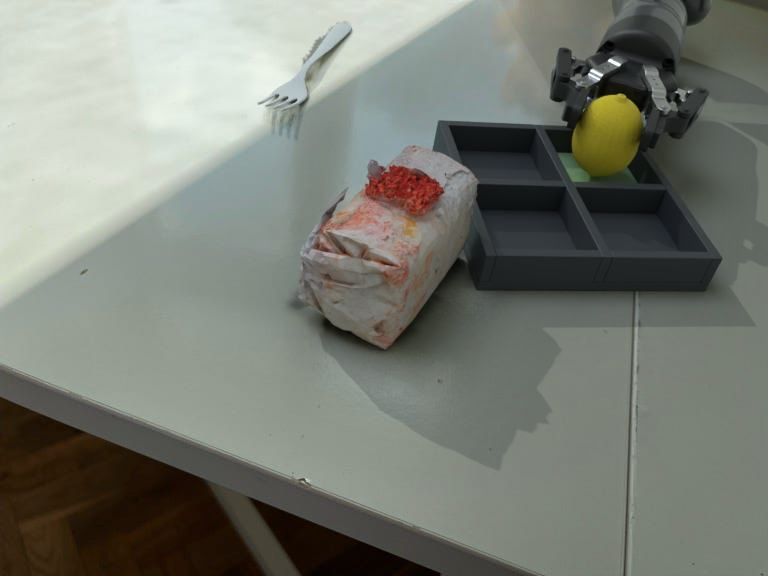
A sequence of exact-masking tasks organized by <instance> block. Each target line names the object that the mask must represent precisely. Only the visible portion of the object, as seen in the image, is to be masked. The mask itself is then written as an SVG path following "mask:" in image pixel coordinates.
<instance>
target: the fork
mask: <svg viewBox="0 0 768 576" xmlns="http://www.w3.org/2000/svg"><path fill="white" fill-rule="evenodd" d="M351 30H352V25H351V24H350V23H347V22H339V23H336V24H335V25H333V26H332V27H331V29H330V30H329V31H328V34H327V35H326V36H325V38H324V39H323V40H322V42H321V43H320V44H319V45H318V47H317V48H316V50H315V51H314V52H313V54H312V55H311V56H310V57H309V58H308V59H307V60H306V61H305V62H304V63H303V65H302V66H301V67H300V69H299V70H298V72H297V73H296V74H295V75H294V77H292V78H291V79H290V80H288V81H287V82H285V83H283V84H282V85H280V86H278V87H277V88H276V89H274V90H273V91H272V92H271V93H270V94H269V95H268V96H267V97H265V98H263V99H262V100H260V101H258V102H257V106H260V105H262V104H263V105H264V108H268V107H271V106H273V105H274V106H273V107H272V110H277V109H280V110H279V112H285V111H288V110H290V109H292V108H295V107H296V106H299V105H300V104H302V103H303V102H305V101H306V100H307V98H308V96H309V92H308V88H307V85H306V75H307V73H308V70H309V69H310V67H312V65H313V64H314V63H316V62H317V61H318V60H319V59H321V58H322V57H323V56H324V55H326V54H327V53H329V52H330V51H331V50H332V49H334V48H335V46H337V44H339V43H340V42H341V41H342V40H344V39H345V37H347V35H348V34H350V33H351ZM276 96H278V97H277V98H276V99H273V98H275V97H276ZM272 99H273V100H272ZM284 99H286V100H284ZM270 100H272V101H270ZM283 100H284V101H283ZM269 101H270V102H269ZM281 101H283V102H281ZM294 101H295V102H294ZM279 102H281V103H279ZM292 102H294V103H292ZM277 103H279V104H277ZM290 103H291V104H290ZM275 104H277V105H275ZM288 104H289V105H288ZM286 105H287V106H286ZM284 106H285V107H284ZM282 107H283V108H282Z"/></svg>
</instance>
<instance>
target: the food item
mask: <svg viewBox="0 0 768 576" xmlns="http://www.w3.org/2000/svg"><path fill="white" fill-rule="evenodd" d="M366 167H367V174H366V175H365V177H366V178H367V180H368V183H367V182H366V183H365V184H364V186H363V188H361V190H360V191H359V192H357V193H356V194H355V195H354V196H353V197H352V199H351V200H350V201H349V202H348V203H347V204H346V205H345V206H343V207H342V208H341V209H340V210H339V211H337V212H336V213H335V211H336V210H337V207H338V205H339V204H340V203H341V202H343V201H344V200H345V197H346V194H347V191H348V190H349V188H350V186H348V187H346V188H344V190H342V191H341V193H340V194H338V195H337V196H336V197H335V198H334V199H333V200H332V201H331V202H330V203H329V204H328V205H327V206H326V207H325V208H324V210H323V213H322V216H321V217H320V219H319V221H318V223H316V225H315V226H314V228H313V229H312V230H311V232H310V233H309V235H308V237H307V239H306V242H305V244H304V243H302V246H301V248H300V252H299V256H300V260H301V265H300V268H299V271H298V282H299V286H298V291H297V297H298V300H299V302H300V303H302V304H303V305H304V307H307V306H310V307H312V308H313V309H314V310H315V312H318V313H319V314H320V315H322V316H324V317H325V318H326V319H327V320H328V321H329V322H330V323H331V324H332V325H333V326H335V327H337V328H338V329H341V330H343V331H349V332H351V333H352V334H353V335H355V336H357V337H359V339H361V340H363V341H365V342H368V343H369V344H371V345H374V346H376V347H378V348H380V349H383V350H387V349H388V348H389V347H391V346H392V345H393V344H394V342H395V341H396V340H397V338H398V337H399V336H401V335H402V333H403V332H404V331H405V330H406V329H407V327H409V325H410V324H411V323H412V322H413V321H414V319H415V318H416V317H417V315H418V314H419V312H420V311H421V310H422V309H423V307H424V306H425V304H426V303H427V302H428V301H429V299H430V297H431V296H432V294H433V293H434V292H435V290H436V289H437V288H438V286H439V285H440V283H441V282H442V281H443V279H444V278H445V277H446V275H447V273H448V272H449V270H450V269H451V268H452V267H453V266H454V264H455V262H456V261H457V259H459V256H460V255H461V253H462V251H464V249H463V248H464V246H465V244H466V241H467V238H468V234H469V227H470V221H471V216H472V215H473V208H474V205H475V199H476V196H477V184H478V183H479V181H478V179H476V178H475V175H474V174H473V173H472V172H471V171H470V170H469V169H468V168H467V167H465V166H463V165H461V164H460V163H458V162H456V161H455V160H453V159H452V158H450V157H448V156H447V155H445V154H443V153H440V152H435V151H432V149H429V148H425V147H422V146H419V145H416V144H414V145H413V144H411V145H408V146H405V147H404V148H403V150H402V151H401V152H400V153H399V154H398V155H397V156H396V157H395V158H393V159H392V160H391V161H390V162H389V163H388V164H387V165H386V166H385V167H384V166H383V165H379V163H378V161H377V160H374V159H372V158H371V159H370V160H369V162H368V165H367V166H366ZM334 213H335V214H334Z"/></svg>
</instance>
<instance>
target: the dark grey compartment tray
mask: <svg viewBox="0 0 768 576" xmlns="http://www.w3.org/2000/svg"><path fill="white" fill-rule="evenodd" d="M566 126H567V125H557V124H556V125H552V124H532V123H514V122H513V123H511V122H510V123H509V122H508V123H507V122H492V121H491V122H487V121H469V120H468V121H464V120H446V119H445V120H444V119H442V120H441V119H438V120H437V125H436V130H435V135H434V141H433V145H432V149H431V151H435V152H440V153H443V154H445V155H447V156H448V157H450V158H452V159H453V160H455V161H456V162H458V163H460V164H461V165H463V166H465V167H467V168H468V169H469V170H470V171H471V172H472V173H473V174H474V175H475V178H476V179H478V181H479V183H478V184H477V196H476V199H475V205H474V208H473V215H472V216H471V221H470V227H469V234H468V238H467V241H466V244H465V246H464V248H463V252H464V255H465V258H466V261H467V264H468V266H469V270H470V274H471V277H472V280H473V283H474V286H475V289H476V290H477V291H622V292H623V291H628V292H629V291H631V292H633V291H635V292H637V291H639V292H640V291H643V292H645V291H646V292H647V291H654V292H655V291H658V292H661V291H662V292H663V291H665V292H666V291H667V292H674V291H675V292H683V291H684V292H706V291H707V289H708V287H709V285H710V283H711V281H712V279H713V278H714V276H715V274H716V273H717V270H718V269H719V267H720V264H721V263H722V261H723V256H722V255H721V254H720V252H719V251H718V249H717V248H716V247H715V245H714V243H713V242H712V240H711V239H710V238H709V236H708V235H707V233H706V232H705V231H704V229H703V228H702V226H701V225H700V224H699V222H698V220H697V219H696V217H695V215H693V213H692V211H690V209H689V208H688V206H687V205H686V203H685V201H684V200H683V199H682V197H681V196H680V195H679V193H678V191H676V189H675V187H674V186H673V184H672V183H671V181H670V180H669V178H668V177H667V176H666V174H665V173H664V171H663V170H662V168H661V167H660V166H659V164H658V163H657V161H656V159H654V157H653V156H652V154H651V153H650V151H649V150H648V149H647V151H646V153H645V152H642V151H638V150H637V153H636V155H635V156H634V158H633V160H632V161H631V162H630V164H629V165H628V166H627V167H626V168H624V169H623V170H622V171H620V172H618V173H616V174H614V175H611V176H599V177H596V178H592V177H590V176H589V174H588V173H587V172H586V171H584V170H583V169H582V168H581V167H580V166H579V165H578V164H577V162H576V160H575V158H574V156H573V151H572V137H573V133H574V130H572V129H569V128H566Z"/></svg>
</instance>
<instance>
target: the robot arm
mask: <svg viewBox="0 0 768 576" xmlns="http://www.w3.org/2000/svg"><path fill="white" fill-rule="evenodd" d="M713 2H714V0H611V8H612V13H613V17H614V19H613V20H612V22H611V23H610V25H609V26H608V27H607V29H606V32H605V33H604V36H603V37H602V39H601V41H600V43H599V45H598V47H597V49H596V51H595V54H593V55H590V56H588V57H586V58H585V60H584V59H578V58H577V56H575V55H573V51H572V50H571V49H570V48H568V47H558V50H557V53H556V57H555V59H554V64H553V66H552V71H551V73H550V89H549V99H550V100H551V101H552V102H555V103H563V102H565V105H564V108H563V111H562V114H561V116H560V118H561V121H563V122H565V123H567V124H566V125H565V126H566V128H569V129H572V130H575V128H576V126H577V123H578V121H579V119H580V116H581V114H582V113H583V112H584V110H585V109H586V108H587V107H588V106H589V105H590V104H591V103H592V102H593V101H595V100H596V99H598V98H601V97H604V96H608V95H617V94H624V95H625V96H626V98H627V99H629V100H630V101H632V102H633V103H634V104H635V105H636V106H637V108H638V109H639V111H640V113H641V116H642V122H643V132H642V137H641V140H640V143H639V146H638V149H637V150H638V151H642V152H645V153H646V151H647V150H648V149H652V150H655V149H657V148H658V146H659V143H660V141H661V138H662V137H663V135H664V133H667V135H668V136H669V137H670V138H671V139H675V140H681V139H683V138H684V136H685V135H686V134H687V132H688V131H689V130H690V129H691V127H692V126H693V125H694V123H695V122H696V121H697V120H698V119H699V117H700V115H701V112H702V110H703V108H704V105H705V103H706V101H707V99H708V97H709V94H710V91H709V90H708V89H707V88H704V87H700V86H698V87H695V88H694V89H693V90H692V89H688V90H684V89H681V88H679V82H678V80H677V79H676V75H677V71H678V68H679V64H680V62H681V61H680V60H681V57H682V54H683V49H684V43H685V42H684V37H685V33H686V30H687V28H688V27H691V26H696V25H698V24H700V23H702V22H703V21H704V20H705V19H706V17H708V15H709V13H710V11H711V9H712V7H713ZM576 75H581V77H580V78H578V79H576V80H573V79H571V78H575V77H576ZM672 102H673V103H674V104H675V108H676V109H677V110H672V107H671V105H670V104H671V103H672Z"/></svg>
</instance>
